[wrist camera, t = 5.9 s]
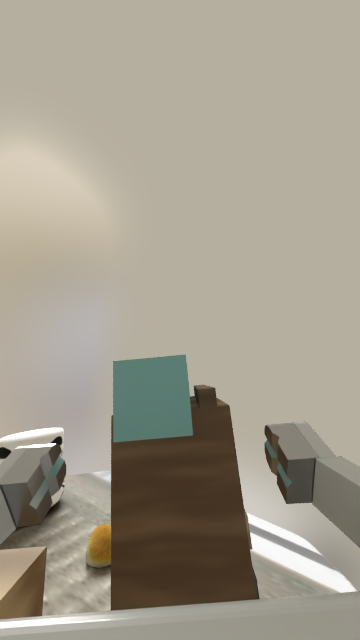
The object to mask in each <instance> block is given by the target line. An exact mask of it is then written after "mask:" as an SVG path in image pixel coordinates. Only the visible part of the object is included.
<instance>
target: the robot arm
mask: <svg viewBox="0 0 360 640" xmlns="http://www.w3.org/2000/svg"><path fill="white" fill-rule="evenodd" d="M265 435H266V437H267V439H268V440H267V441H266V442H265V454H266V459H267V462H268V465H269V467H270V469H271V472H273V473H274V474H275V475H277V485H278V487H279V489H280V491H281V493H282V495H283V497H284V500H285V501H286V504H293V503H312V504H313V505H314V506H315V507H316V508H317V509H318V510H319V511H320V512H321V513H323V514H324V515H325V516H326V517H327V518H328V519H329V520H330V521H331V522H332V523H334V524H335V525H336V526H337V527H338V528H339V529H340V530H341V531H342V532H343V533H344V534H345V535H346V536H348V537H349V538H350V539H351V540H352V541H353V542H354V543H355V544H356V545H357V546H358V547H359V548H360V467H359V466H357V465H355V464H354V463H352V462H350V461H348V460H346V459H345V458H343V457H341V456H339V457H336V456H335V455H334V453H333V452H332V451H331V450H330V448H329V447H328V446H327V445H326V444H325V443H324V441H323V440H322V439H321V438H320V437H319V436H318V434H317V433H316V432H315V431H314V430H313V429H312V427H311V426H310V425H309V424H308V423H307V422H305V421H301V422H292V423H282V424H272V425H266V426H265ZM61 453H62V450H61V447H60V445H59V444H41V445H31V446H19V447H17V448H15V449H14V450H13V451H12V452H11V453H10V454H9V456H8V457H7V458H6V459H5V460H4V461H3V462H2V463H1V464H0V545H1V544H2V542H3V541H4V540H5V539H6V538H7V537H8V536H9V535H10V534H11V533H12V532H13V531H14V530H15V529H16V527H22V526H30V525H39V524H42V522H43V520H44V518H45V516H46V514H47V512H48V511H49V509H50V507H51V505H52V503H53V501H52V496H53V495H54V494H55V493H57V492H58V491H59V490H60V488H61V486H62V484H63V482H64V479H65V475H66V464H65V461H64V460H63V459H62V458H61V457H60V454H61ZM0 640H360V591H359V592H346V593H333V594H320V595H307V596H294V597H282V598H269V599H256V600H243V601H230V602H217V603H204V604H191V605H178V606H165V607H152V608H139V609H126V610H113V611H101V612H88V613H75V614H63V615H50V616H37V617H25V618H12V619H0Z"/></svg>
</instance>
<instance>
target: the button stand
mask: <svg viewBox="0 0 360 640" xmlns="http://www.w3.org/2000/svg"><path fill="white" fill-rule="evenodd" d="M194 393H195V396H192V397H190V405H191V417H192V428H193V435H192V436H181V437H170V438H158V439H147V440H135V441H124V442H113V415H112V423H111V424H112V426H111V427H112V428H111V429H112V430H111V431H112V432H111V433H112V436H111V437H112V439H111V449H112V450H111V611H113V610H126V609H139V608H152V607H165V606H178V605H191V604H204V603H217V602H230V601H243V600H256V599H259V593H258V586H257V579H256V576H255V573H254V570H253V567H252V562H251V555H250V549H252V545H251V538H250V531H249V524H248V517H247V514H246V512H245V509H244V506H243V499H242V491H241V484H240V477H239V471H238V464H237V456H236V449H235V442H234V435H233V428H232V421H231V414H230V407H229V405H228V404H226V403H224V402H223V401H221V400H219V399H218V398H216V391H215V388H213V387H210V386H206V385H196V386H194Z"/></svg>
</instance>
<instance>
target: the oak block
mask: <svg viewBox="0 0 360 640" xmlns="http://www.w3.org/2000/svg"><path fill="white" fill-rule="evenodd" d="M46 552H47V546H42V547H30V548H18V549H5V550H0V619H12V618H25V617H37V616H42V608H43V594H44V580H45V566H46Z"/></svg>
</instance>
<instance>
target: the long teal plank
mask: <svg viewBox="0 0 360 640" xmlns="http://www.w3.org/2000/svg"><path fill="white" fill-rule="evenodd" d="M113 364H114V365H113V442H124V441H135V440H147V439H158V438H170V437H181V436H192V435H193V428H192V417H191V405H190V395H189V383H188V373H187V364H186V355H177V356H167V357H157V358H145V359H134V360H123V361H113Z"/></svg>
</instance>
